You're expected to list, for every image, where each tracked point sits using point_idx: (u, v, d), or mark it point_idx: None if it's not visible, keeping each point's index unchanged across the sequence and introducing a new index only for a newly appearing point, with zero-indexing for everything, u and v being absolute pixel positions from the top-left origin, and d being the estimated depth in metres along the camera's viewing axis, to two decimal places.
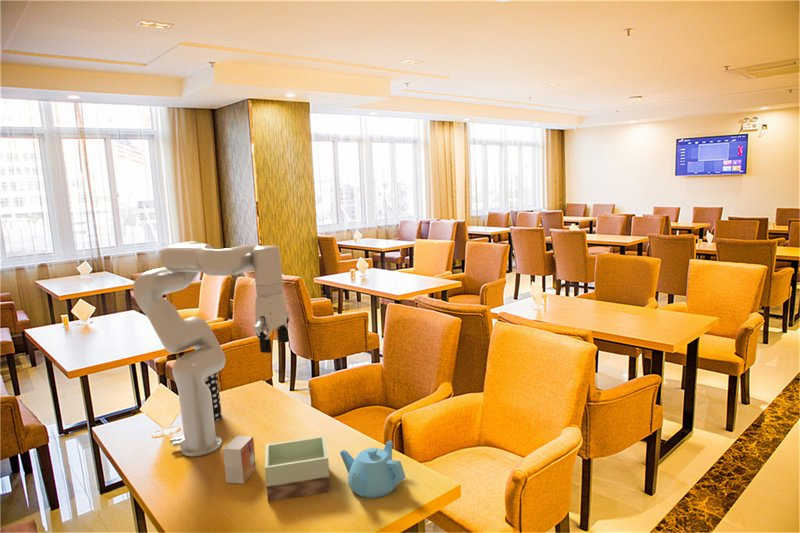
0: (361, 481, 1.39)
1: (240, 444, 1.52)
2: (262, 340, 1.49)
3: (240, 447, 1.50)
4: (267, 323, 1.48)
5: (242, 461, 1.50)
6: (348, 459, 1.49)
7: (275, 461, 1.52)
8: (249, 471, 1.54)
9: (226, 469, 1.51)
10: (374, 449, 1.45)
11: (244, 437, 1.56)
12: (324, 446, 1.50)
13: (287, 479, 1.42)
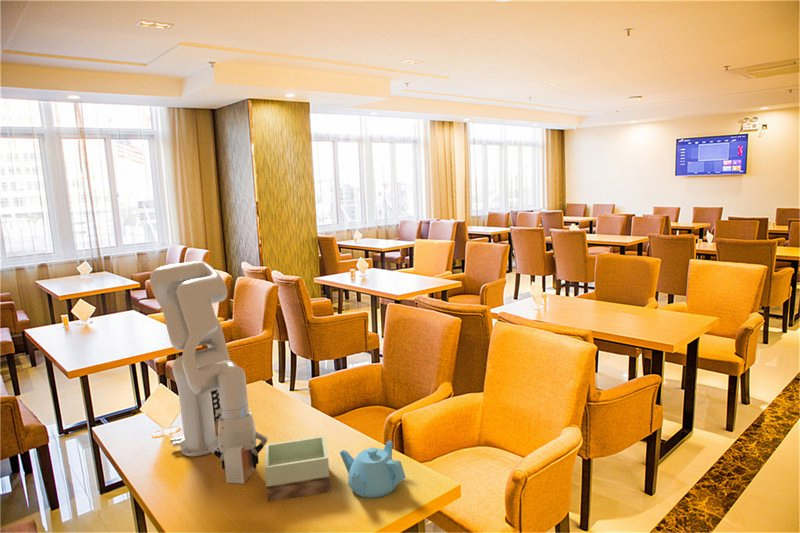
0: (361, 481, 1.39)
1: None
2: (257, 453, 1.55)
3: (240, 447, 1.50)
4: None
5: (242, 461, 1.50)
6: (348, 459, 1.49)
7: (275, 461, 1.52)
8: (249, 471, 1.54)
9: (226, 469, 1.51)
10: (374, 449, 1.45)
11: None
12: (324, 446, 1.50)
13: (287, 479, 1.42)
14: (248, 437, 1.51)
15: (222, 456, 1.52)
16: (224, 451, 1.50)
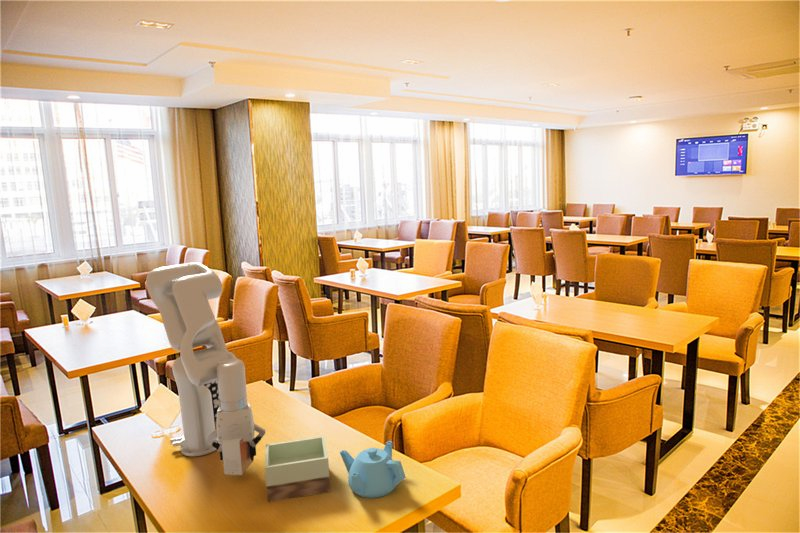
0: (361, 481, 1.39)
1: None
2: None
3: (239, 439, 1.51)
4: None
5: (240, 453, 1.50)
6: (348, 459, 1.49)
7: (275, 461, 1.52)
8: (247, 463, 1.54)
9: (224, 461, 1.51)
10: (374, 449, 1.45)
11: None
12: (324, 446, 1.50)
13: (287, 479, 1.42)
14: (246, 429, 1.51)
15: (220, 447, 1.52)
16: None
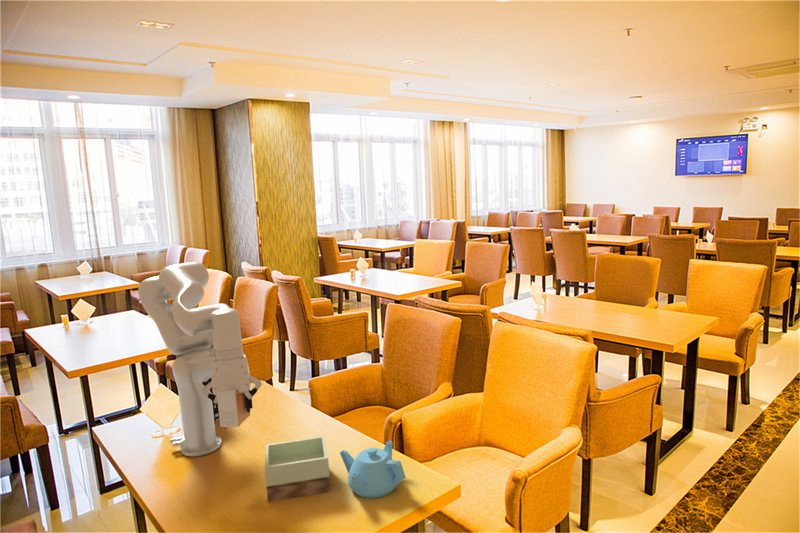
0: (361, 481, 1.39)
1: None
2: (251, 398, 1.52)
3: (234, 389, 1.48)
4: None
5: (236, 403, 1.47)
6: (348, 459, 1.49)
7: (275, 461, 1.52)
8: (243, 415, 1.51)
9: (220, 412, 1.48)
10: (374, 449, 1.45)
11: None
12: (324, 446, 1.50)
13: (287, 479, 1.42)
14: (242, 379, 1.48)
15: (216, 399, 1.49)
16: None
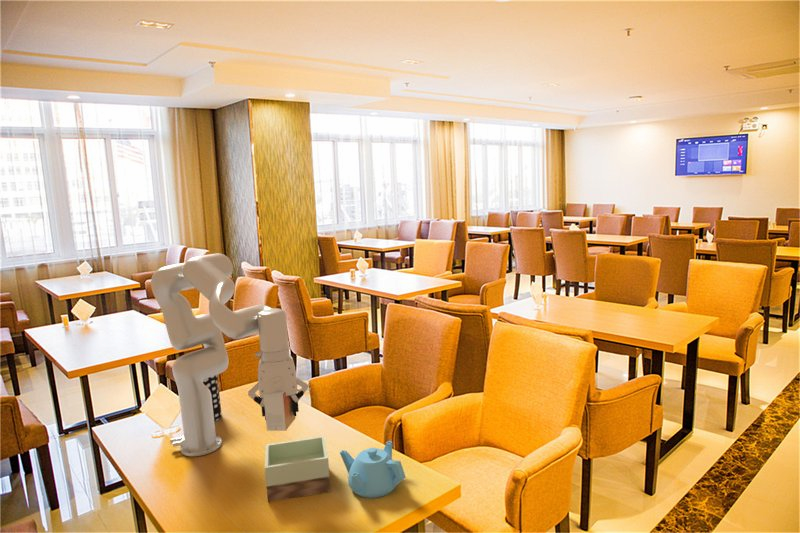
0: (361, 481, 1.39)
1: None
2: (297, 401, 1.48)
3: (282, 392, 1.43)
4: None
5: (284, 407, 1.43)
6: (348, 459, 1.49)
7: (275, 461, 1.52)
8: (289, 419, 1.47)
9: (267, 416, 1.44)
10: (374, 449, 1.45)
11: None
12: (324, 446, 1.50)
13: (287, 479, 1.42)
14: (289, 382, 1.44)
15: (262, 402, 1.45)
16: None
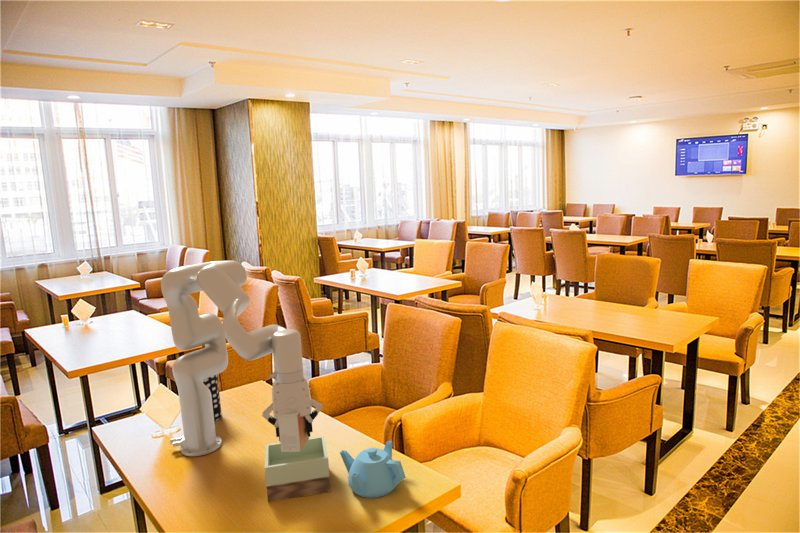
0: (361, 481, 1.39)
1: None
2: None
3: (296, 413, 1.43)
4: None
5: (298, 427, 1.43)
6: (348, 459, 1.49)
7: (275, 461, 1.52)
8: (303, 439, 1.47)
9: (281, 437, 1.44)
10: (374, 449, 1.45)
11: None
12: (324, 446, 1.50)
13: (287, 479, 1.42)
14: (304, 403, 1.44)
15: (276, 423, 1.45)
16: None
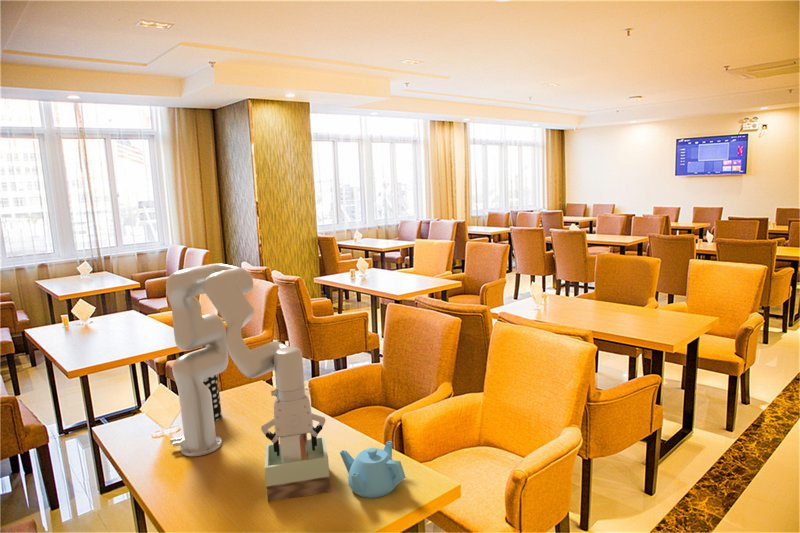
0: (361, 481, 1.39)
1: None
2: None
3: (298, 435, 1.44)
4: None
5: (300, 449, 1.44)
6: (348, 459, 1.49)
7: (275, 461, 1.52)
8: None
9: (283, 459, 1.45)
10: (374, 449, 1.45)
11: None
12: (324, 446, 1.50)
13: (287, 479, 1.42)
14: (305, 420, 1.45)
15: (275, 438, 1.45)
16: (280, 434, 1.44)
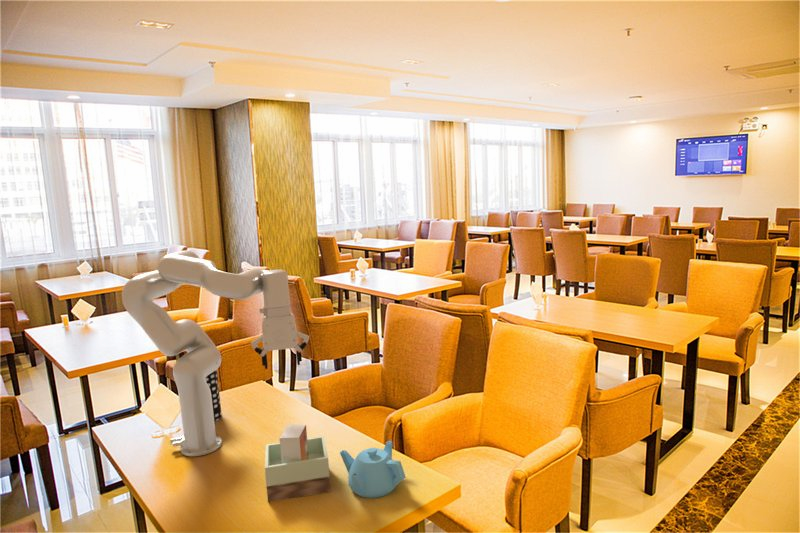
0: (361, 481, 1.39)
1: (296, 432, 1.46)
2: (301, 351, 1.64)
3: (298, 435, 1.44)
4: None
5: (300, 449, 1.44)
6: (348, 459, 1.49)
7: (275, 461, 1.52)
8: None
9: (283, 459, 1.45)
10: (374, 449, 1.45)
11: (297, 425, 1.50)
12: (324, 446, 1.50)
13: (287, 479, 1.42)
14: (290, 335, 1.60)
15: (263, 352, 1.60)
16: (268, 348, 1.59)
